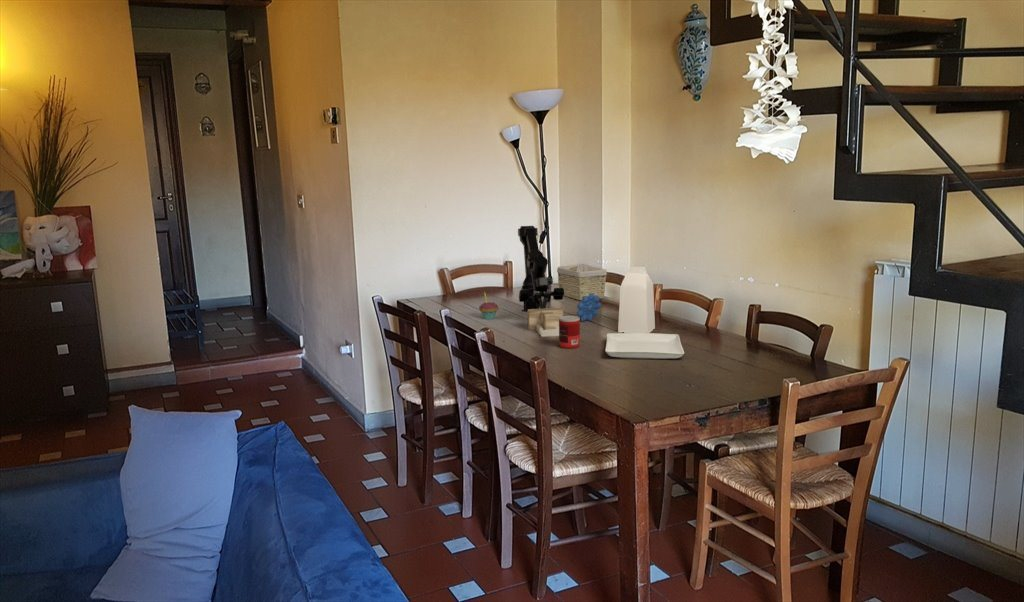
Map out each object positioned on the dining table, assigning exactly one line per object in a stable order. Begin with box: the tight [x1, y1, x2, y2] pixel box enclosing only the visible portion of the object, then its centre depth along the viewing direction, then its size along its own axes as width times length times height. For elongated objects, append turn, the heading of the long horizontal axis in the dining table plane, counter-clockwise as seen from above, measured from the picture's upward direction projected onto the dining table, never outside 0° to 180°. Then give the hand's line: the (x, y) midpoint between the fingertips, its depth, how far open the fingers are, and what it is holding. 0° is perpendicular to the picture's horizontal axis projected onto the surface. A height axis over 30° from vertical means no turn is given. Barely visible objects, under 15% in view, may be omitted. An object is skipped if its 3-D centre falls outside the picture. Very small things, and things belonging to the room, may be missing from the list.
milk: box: [617, 265, 656, 333], centre depth 305 cm, size 12×12×26 cm
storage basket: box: [556, 263, 608, 301], centre depth 379 cm, size 24×16×15 cm
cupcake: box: [479, 291, 499, 320], centre depth 335 cm, size 9×8×12 cm
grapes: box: [576, 293, 602, 322], centre depth 325 cm, size 12×7×12 cm, turn 114°
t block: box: [527, 307, 564, 331], centre depth 308 cm, size 14×14×8 cm
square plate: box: [605, 332, 685, 360], centre depth 276 cm, size 27×27×4 cm
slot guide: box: [535, 324, 559, 337], centre depth 306 cm, size 12×8×2 cm
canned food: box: [558, 315, 581, 350], centre depth 283 cm, size 8×8×11 cm
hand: (544, 311), depth 315 cm, fingers closed, pressing on t block
